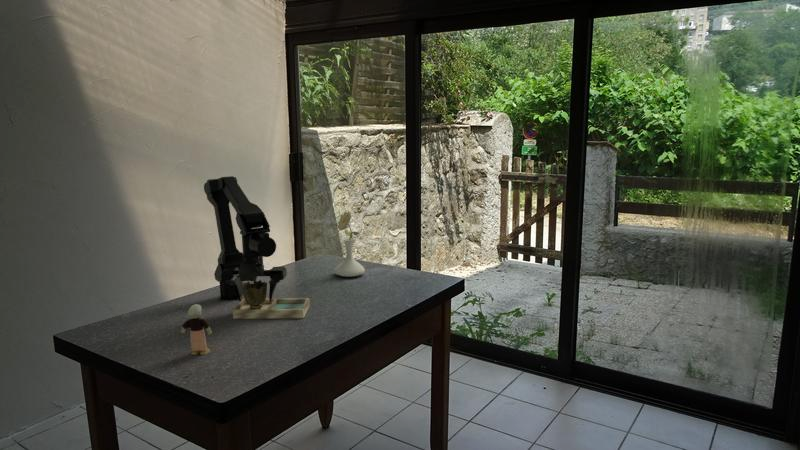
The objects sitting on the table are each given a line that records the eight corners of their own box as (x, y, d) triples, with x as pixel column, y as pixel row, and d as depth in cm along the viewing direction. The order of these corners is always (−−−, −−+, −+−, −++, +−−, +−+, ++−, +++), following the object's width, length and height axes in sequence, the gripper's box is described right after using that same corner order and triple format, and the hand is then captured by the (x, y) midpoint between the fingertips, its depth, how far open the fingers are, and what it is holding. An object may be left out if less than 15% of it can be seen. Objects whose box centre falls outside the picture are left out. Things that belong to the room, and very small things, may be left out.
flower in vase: (334, 271, 216) (332, 207, 212) (364, 270, 218) (363, 206, 213) (334, 281, 204) (332, 213, 199) (366, 279, 205) (364, 212, 200)
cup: (246, 314, 166) (244, 288, 165) (240, 307, 173) (239, 282, 171) (271, 310, 170) (269, 285, 168) (265, 303, 176) (263, 278, 175)
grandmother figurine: (215, 348, 144) (212, 301, 142) (212, 354, 141) (209, 306, 138) (184, 350, 143) (180, 303, 141) (180, 356, 140) (176, 308, 137)
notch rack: (233, 318, 166) (232, 310, 165) (243, 306, 177) (243, 298, 176) (303, 318, 166) (303, 310, 165) (309, 305, 177) (309, 298, 176)
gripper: (212, 257, 160) (216, 309, 163) (278, 257, 160) (280, 309, 163) (224, 248, 171) (227, 297, 174) (285, 248, 171) (288, 297, 174)
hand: (255, 300), depth 171 cm, fingers open, 9 cm apart
